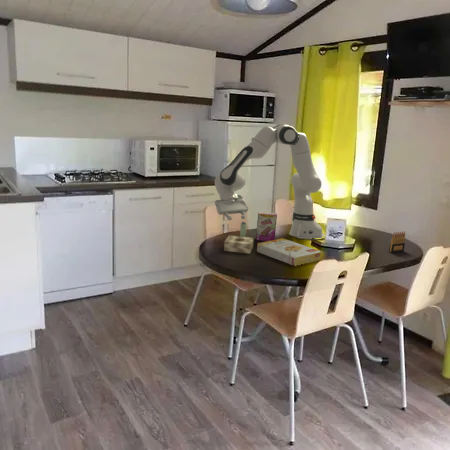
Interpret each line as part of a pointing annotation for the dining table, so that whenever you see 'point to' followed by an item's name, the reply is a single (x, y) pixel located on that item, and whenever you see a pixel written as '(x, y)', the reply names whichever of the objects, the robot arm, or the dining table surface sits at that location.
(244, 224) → the bottle
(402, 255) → the dining table surface
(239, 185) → the robot arm
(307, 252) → the cereal box
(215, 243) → the dining table surface
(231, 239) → the block with square hole
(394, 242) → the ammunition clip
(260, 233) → the candy bar box
